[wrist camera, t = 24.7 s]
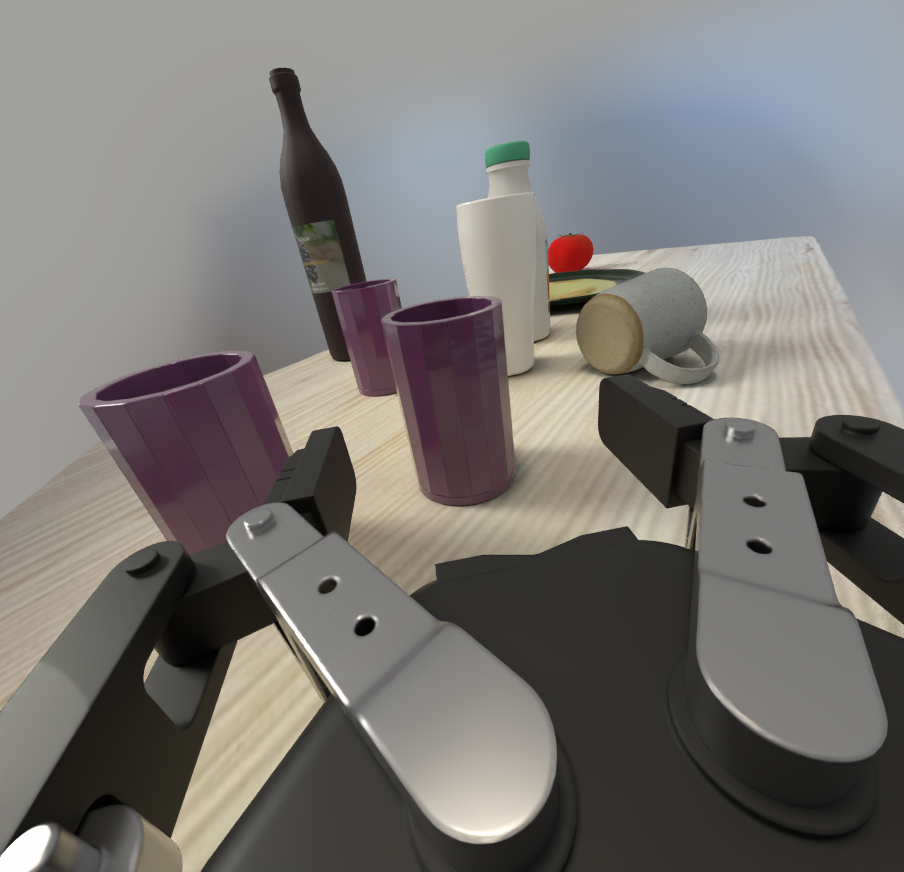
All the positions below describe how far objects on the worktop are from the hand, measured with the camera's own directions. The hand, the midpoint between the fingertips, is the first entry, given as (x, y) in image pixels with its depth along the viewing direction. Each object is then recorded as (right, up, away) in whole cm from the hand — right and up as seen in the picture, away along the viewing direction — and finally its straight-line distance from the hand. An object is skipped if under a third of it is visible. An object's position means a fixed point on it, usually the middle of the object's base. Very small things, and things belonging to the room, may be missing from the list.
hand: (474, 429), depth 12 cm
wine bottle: (-14, +11, +43) cm, 46 cm away
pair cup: (-10, -6, +8) cm, 15 cm away
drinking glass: (+5, +7, +28) cm, 29 cm away
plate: (+18, +24, +56) cm, 64 cm away
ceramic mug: (+17, +6, +23) cm, 29 cm away
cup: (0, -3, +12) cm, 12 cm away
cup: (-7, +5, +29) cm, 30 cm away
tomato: (+27, +38, +80) cm, 93 cm away
